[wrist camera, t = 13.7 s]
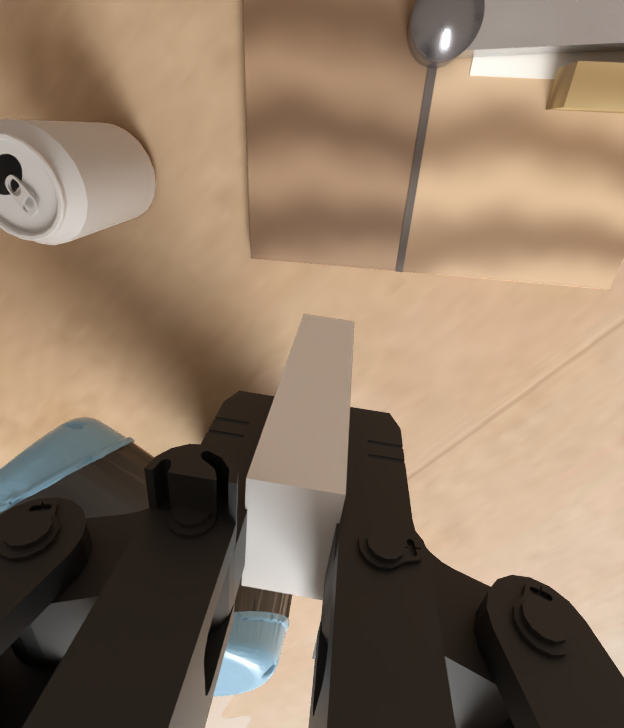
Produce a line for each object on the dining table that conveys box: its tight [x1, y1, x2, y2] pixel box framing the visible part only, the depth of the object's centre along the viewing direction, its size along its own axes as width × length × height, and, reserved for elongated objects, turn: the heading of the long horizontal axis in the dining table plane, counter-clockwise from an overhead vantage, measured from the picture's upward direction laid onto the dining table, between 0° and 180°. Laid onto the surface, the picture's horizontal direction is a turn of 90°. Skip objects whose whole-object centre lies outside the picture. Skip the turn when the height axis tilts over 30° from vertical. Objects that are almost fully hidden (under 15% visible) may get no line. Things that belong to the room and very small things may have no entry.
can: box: [0, 119, 156, 245], centre depth 29 cm, size 8×8×12 cm
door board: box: [243, 0, 624, 290], centre depth 25 cm, size 32×30×5 cm
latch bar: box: [407, 0, 624, 68], centre depth 23 cm, size 17×4×4 cm, turn 91°
